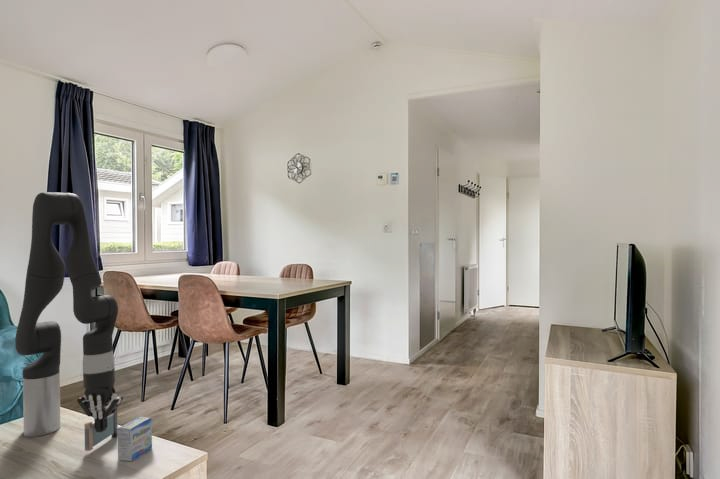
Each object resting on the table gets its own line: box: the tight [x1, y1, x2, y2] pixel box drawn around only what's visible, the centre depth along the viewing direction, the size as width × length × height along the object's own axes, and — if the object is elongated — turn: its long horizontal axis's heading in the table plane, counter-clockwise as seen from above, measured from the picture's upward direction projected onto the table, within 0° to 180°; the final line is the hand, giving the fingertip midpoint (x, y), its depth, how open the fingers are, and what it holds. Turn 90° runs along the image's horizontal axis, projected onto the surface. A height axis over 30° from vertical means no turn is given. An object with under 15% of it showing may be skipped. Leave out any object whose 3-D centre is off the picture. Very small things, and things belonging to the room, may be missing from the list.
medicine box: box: [116, 416, 153, 462], centre depth 120 cm, size 8×4×9 cm, turn 165°
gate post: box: [111, 408, 119, 439], centre depth 131 cm, size 2×2×9 cm
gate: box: [83, 413, 114, 452], centre depth 125 cm, size 10×1×7 cm, turn 173°
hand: (101, 431), depth 122 cm, fingers closed
